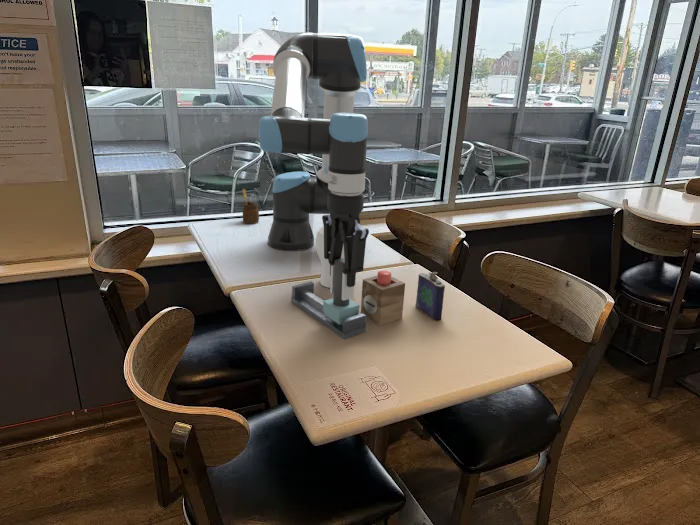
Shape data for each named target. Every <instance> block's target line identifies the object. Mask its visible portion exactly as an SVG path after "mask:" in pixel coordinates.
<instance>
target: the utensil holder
mask: <svg viewBox="0 0 700 525" xmlns="http://www.w3.org/2000/svg"><path fill="white" fill-rule="evenodd" d="M241 191H242V196H243V198H244V199H245V202H243V204H242V205H243V208H242V222H243V223H245V224H248V225H249V224H253V223H254V224H257V223H259V221H260V214H259V213H260V212H259V211H260V210H259V208H258V206H259V205H258V203H257V201H253V200H252V199H255V196H253V195H251V196H250V200H249V201H248V200H247V197H248V195H247V191H246V188H243V189H241ZM252 197H253V198H252Z"/></svg>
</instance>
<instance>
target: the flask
mask: <svg viewBox="0 0 700 525" xmlns="http://www.w3.org/2000/svg"><path fill="white" fill-rule="evenodd" d="M437 274H438V272H436V271H433V272H428V273H425V272H420V273H419V274H418V278H417V279H418V281H417V289H416V297H415V298H416V299H415V307H416V309H417V310H419V311H421V313H423V314H425V315H426V316H427V317H429V318H430V319H431V320H432V321H435V322H439V321H442V317H443V316H442V314H443V306H444V297H445V296H444V295H445V289H446V288H445V287H446V286H445V284H444V283H443V282H442V281H441V280H439V278H438V276H436V275H437Z"/></svg>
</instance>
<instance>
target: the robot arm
mask: <svg viewBox="0 0 700 525" xmlns="http://www.w3.org/2000/svg"><path fill="white" fill-rule="evenodd" d="M272 72H273V74H274V76H275V78H274V87H273V93H272V94H273V95H272V101H271V102H272V104H271V113H270V115H267V116H266V115H265V116H262V117H261V118H260V119H259V121H258V122H259V123H258V124H259V125H258V142H259V147H260V149H261V150H262V151H263V152H266V153H275V154H309V155H310V154H311V155H321V156H322V157H321V158H322V159H321V168H320V169H319V170H317V173H316V177H311V174H310V173H309V172H307V171H300V170H299V171H291V172H285V173H281V174H279V175H276V176H274V178H273V180H272V181H273V182H272V191H271V192H272V210H273V211H272V220H273V221H272V223H271V227H270V231H269V233H268V236H267V244H268V245H269V247H271V248H273V249H276V250H280V251H286V252H287V251H289V252H293V251H296V252H297V251H303V250H308V249H310V248H312V247H313V246H315V236H314V233H313V230H312V227H311V222H310V215H311V214H314V215H321V220H322V224H323V226H324V258H325V259H328V260H329V264H330V277H331V280H330V288H329V293H331V294H334V267H335V260H336V259H341V255H342V249H343V244H344V258H345V271H343V276H342V300H343V301H344V300H347V299H350V300H352V299H354V294H355V292H354V291H355V285H356V278H357V277H356V274H357V273H361V272H363V271H364V264H365V256H366V255H365V254H366V245H367V238H368V235H369V232H370V230H369V228H366V227H365V228H364V227H363V226H362V225H361V220H360V214H361V212H363V211H364V202H365V194H364V191H365V189H366V187H365V186H366V161H367V149H368V148H367V147H368V145H367V144H368V136H369V129H368V127H369V126H368V124H369V123H368V122H369V120H368V117H367V116H366V115H365V114H363V113H362V114H361V113H355V112H354V107H355V106H354V105H355V103H354V102H355V94H356V93H358V91H359V90H361V83H365V82H366V81H367V73H368V72H367V55H366V47H365V41H364V39H363V38H362V36H359V35H354V34H348V33H327V32H326V33H324V32H321V33H320V32H302V33H298V34H296V35H294V36H292V37H291V38H288V39H287V40H286V41H285V42H283V44H282V45H281V46H280V47H279V48H278V49H277V51H276V53H275V55H274V57H273V62H272ZM307 80H319V81H318V86H319V88H320V89H321V90H322V91H323V118H319V117H318V118H314V117H305V114H306V113H305V112H306V110H305V107H306V87H307V85H306V82H307ZM349 236H351V237H349ZM329 252H330V253H329Z"/></svg>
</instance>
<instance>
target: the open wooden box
mask: <svg viewBox="0 0 700 525" xmlns="http://www.w3.org/2000/svg"><path fill="white" fill-rule="evenodd" d="M361 286H362V287H361V304H360V314H362V313H364V314H365V315H366V319H369V320H370V321H372V322H373V323H375V324H376V325H378V326H383V325H386V324H389V323H391V322H394V321H397V320H400V319H402V318H403V311H404V300H405V288H406V283H405V282H403V281H401V280H400V279H398V278H396V277H394V276H392V275H391V284H390V285H386V286H381V285H380V284H378V283H377V275H375V276H369V277H366V278H363V279H362V285H361Z"/></svg>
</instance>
